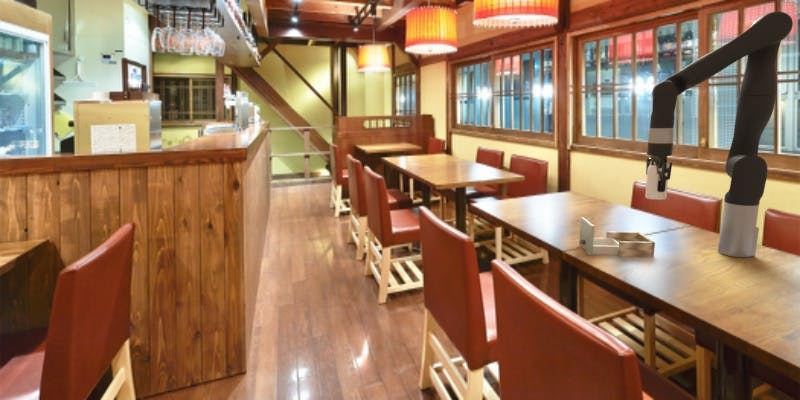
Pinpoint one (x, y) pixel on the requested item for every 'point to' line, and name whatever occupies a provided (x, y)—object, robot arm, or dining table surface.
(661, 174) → the robot arm
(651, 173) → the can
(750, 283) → the dining table surface
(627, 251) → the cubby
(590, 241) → the bracket
